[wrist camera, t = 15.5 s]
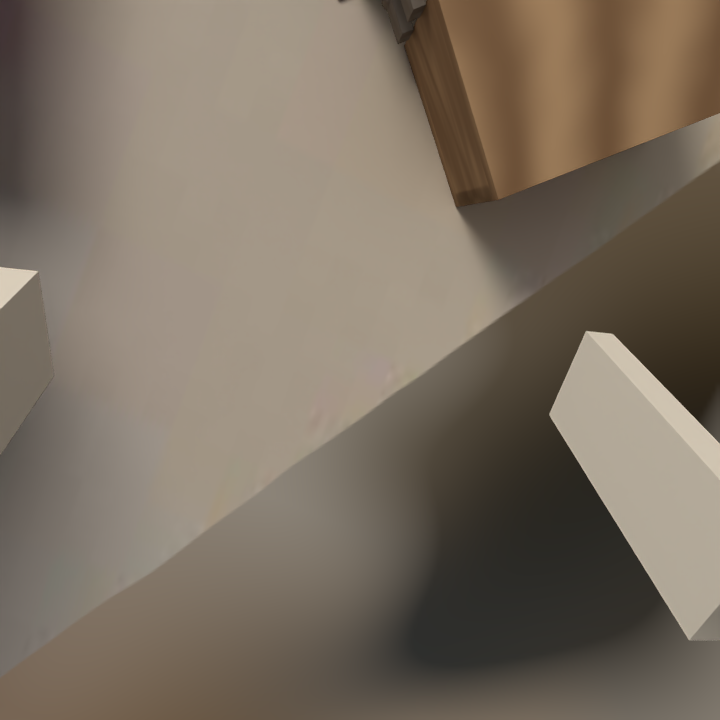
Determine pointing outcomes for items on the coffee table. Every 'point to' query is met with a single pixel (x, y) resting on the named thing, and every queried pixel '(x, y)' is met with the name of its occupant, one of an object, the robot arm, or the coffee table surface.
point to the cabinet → (554, 82)
